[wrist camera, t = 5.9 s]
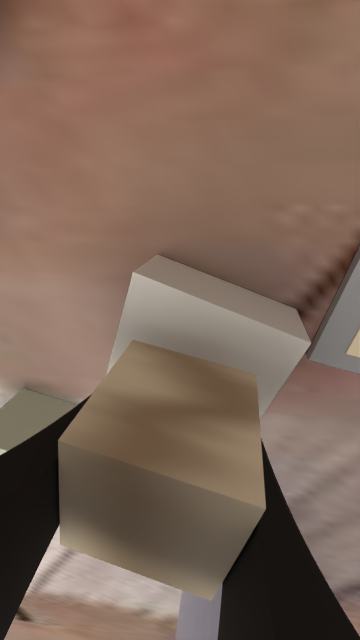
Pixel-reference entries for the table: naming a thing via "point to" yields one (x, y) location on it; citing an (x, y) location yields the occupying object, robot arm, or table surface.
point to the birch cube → (164, 469)
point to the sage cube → (28, 416)
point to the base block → (212, 323)
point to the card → (341, 326)
